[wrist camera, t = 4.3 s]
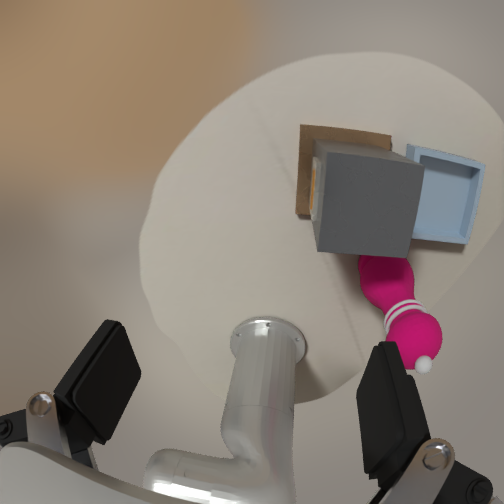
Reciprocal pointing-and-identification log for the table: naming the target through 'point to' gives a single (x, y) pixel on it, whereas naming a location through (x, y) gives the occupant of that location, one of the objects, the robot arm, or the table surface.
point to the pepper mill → (401, 310)
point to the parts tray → (446, 195)
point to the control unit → (357, 191)
